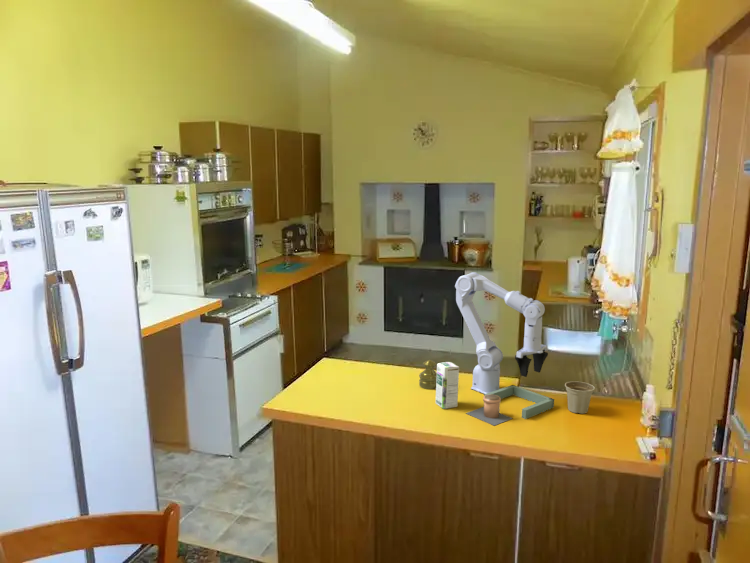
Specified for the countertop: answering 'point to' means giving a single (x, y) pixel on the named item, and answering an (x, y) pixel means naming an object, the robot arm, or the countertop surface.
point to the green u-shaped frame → (540, 400)
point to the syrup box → (447, 385)
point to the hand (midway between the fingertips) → (530, 373)
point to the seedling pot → (491, 406)
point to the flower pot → (578, 396)
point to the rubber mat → (493, 421)
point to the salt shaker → (428, 376)
